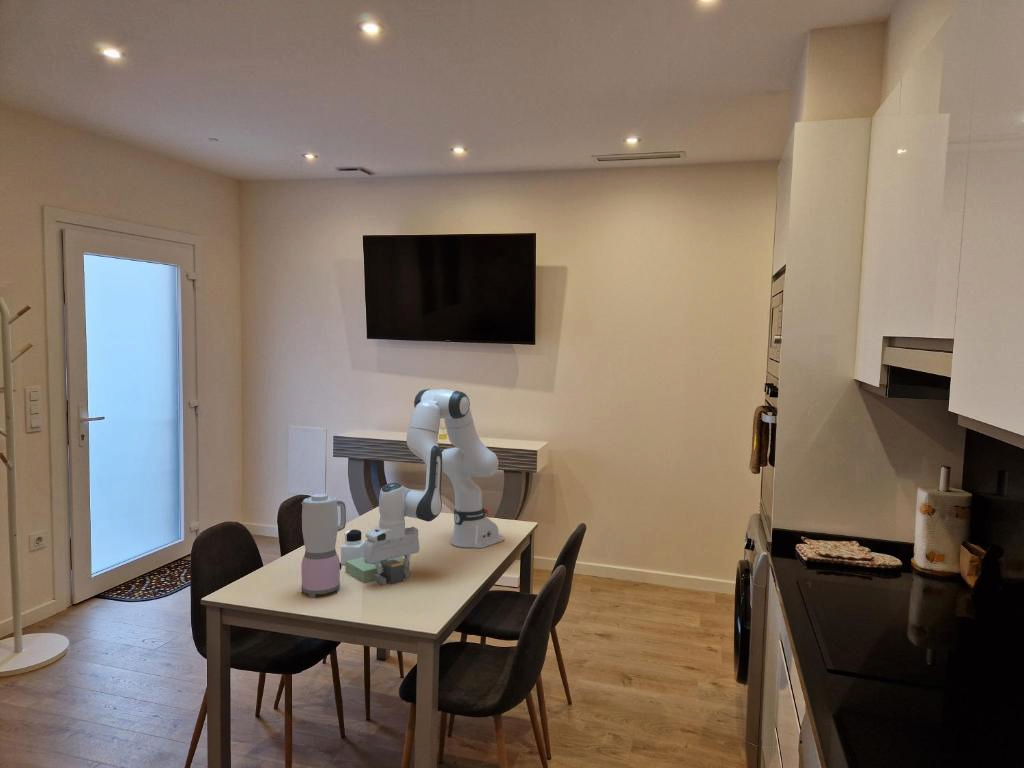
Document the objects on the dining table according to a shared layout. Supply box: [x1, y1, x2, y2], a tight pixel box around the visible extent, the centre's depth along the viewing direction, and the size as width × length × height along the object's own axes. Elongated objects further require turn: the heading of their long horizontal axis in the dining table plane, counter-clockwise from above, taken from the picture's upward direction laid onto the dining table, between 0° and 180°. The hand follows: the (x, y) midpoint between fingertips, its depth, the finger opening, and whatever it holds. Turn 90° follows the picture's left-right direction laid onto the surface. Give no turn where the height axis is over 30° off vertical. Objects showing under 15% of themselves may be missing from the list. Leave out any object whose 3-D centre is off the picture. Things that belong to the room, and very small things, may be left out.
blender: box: [300, 493, 347, 599], centre depth 222 cm, size 16×12×32 cm
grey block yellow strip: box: [381, 559, 405, 585], centre depth 232 cm, size 5×7×7 cm
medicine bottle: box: [340, 529, 366, 566], centre depth 250 cm, size 7×7×12 cm
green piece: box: [344, 556, 410, 586], centre depth 238 cm, size 18×20×7 cm
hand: (392, 570), depth 232 cm, fingers open, 8 cm apart
